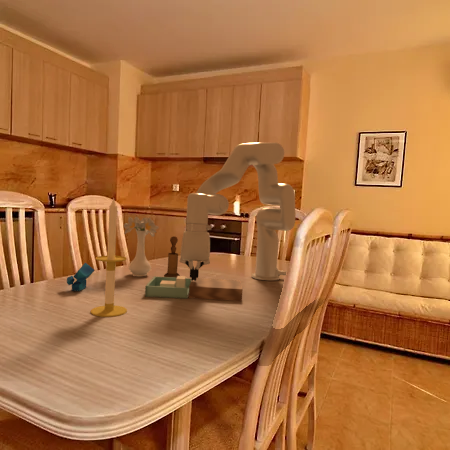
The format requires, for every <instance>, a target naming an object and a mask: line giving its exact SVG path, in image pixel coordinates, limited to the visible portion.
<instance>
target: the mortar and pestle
mask: <svg viewBox="0 0 450 450" xmlns="http://www.w3.org/2000/svg"><path fill="white" fill-rule="evenodd" d="M169 240H170V241H169V242H170V244H171V246H170V252H168V256H167V258H168V260H167V272H166V273H165V274H163V277H174V278H177V276H181V275H180V273H178V262H179V253H177V252H176V251H177V247H176V244H178V241H179V239H178V237H177V236H171V237H170V239H169Z"/></svg>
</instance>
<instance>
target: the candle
mask: <svg viewBox="0 0 450 450" xmlns="http://www.w3.org/2000/svg"><path fill="white" fill-rule="evenodd" d="M111 201H112V202H111V204H110V205H109V206H108V207H109V209H108V211H109V212H108V233H107V255H100V256H99V255H98V256H96V257H95V260H96V261H98V262H104V263H106V264H105V265H106V266H105V267H106V268H105V289H104V291H105V293H104V294H105V295H104V305H100V306H96V307H94V308H92V309H91V310H90V314H91V315H93V316H95V317H101V318H109V317H110V318H114V317H119V316H122V315H125V314H126V313H127V312H128V309H127V308H126V307H124V306H121V305H115V289H116V288H115V287H116V286H115V285H116V265H117V263H118V262H124V261H126V260H127V257H126V256H122V255H116V243H117V219H118V205H116V201H115V198H114V197H113V198H112V200H111Z"/></svg>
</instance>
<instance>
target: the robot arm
mask: <svg viewBox="0 0 450 450" xmlns="http://www.w3.org/2000/svg"><path fill="white" fill-rule="evenodd" d="M284 157H285V149H284V146H283V145H282V144H280V142H279V143H278V142H257V141H256V142H246V143H239V144H237V145H236V146H234V148H233V150H232V151H231V153H230V154H229V156H228V158H227V159H226V160H225V163H224V164H223V165H222V168H220V170H218V171H217V172H215V173H213V174H212V175H211V176H210V177H209V178H207V179H206V180H205V181H203V183H202V184H200V186H199V187H198V189H197V191H196V192H195V193H194V192H192V193H191V192H190V193H189V194H188V195H187V199H186V200H187V202H186V203H187V204H186V220H185V221H186V222H185V223H186V224H185V231H183V233H182V239H181V246H180V258H179V262H180V263H182V264H184V265H186V266H187V267H188V269H189V278H191V280H192V281H193V280H194V281H196V278H199V272H200V271H199V269H201V268H202V267H204V266H205V265H210V264H211V260H210V257H211V237H210V236H211V235H210V233H209V232H208V231H211V230H212V226H211V225H209V224H208V221H209V215H213V216H220V215H221V216H222V215H223V214H225V213H226V212H227V211H228V210H229V207H230V206H229V205H230V203H229V200H228V198H227V197H226V196H224V195H223V194H220V193H219V192H220V191H222V190H224V189H227V188H231V187H232V186H235V185H236V184H238V183H239V182H240V181H241V180H242V178H243V176H244V174H245V173H246V171H247V169H248V168H249V166H253V167H254V168H255V171H256V173H257V179H258V180H257V181H258V183H257V184H258V186H257V187H258V197H259V198H258V199H259V201H260V203H261V204H262V205H267V206H268V205H269V206H279V208H278V207H263V208H260V209H259V210H258V212H257V213H256V219H255V221H256V228H257V235H256V237H257V240H256V241H257V242H256V255H255V256H256V258H255V269H254V270H255V271H254V273H251V277H252V279H255V280H260V281H268V282H269V281H271V282H272V281H273V282H274V281H279V280H280V277H281V276H287V275H286V272H287V273H288V271H287V270H280V269H278V256H279V241H280V240H279V236H278V233H277V231H283V232H287V231H288V232H289V231H292V230H293V228H294V227H295V223H296V195H295V194H296V192H295V190H294V188H293V186H292V185H291V184H289V183H282V182H281V183H279V179H278V171H277V168H276V166H275V165H277V164H280V163H281V162H282V161H283V159H284ZM218 193H219V194H218ZM194 261H196V265H195V267H194Z"/></svg>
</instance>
